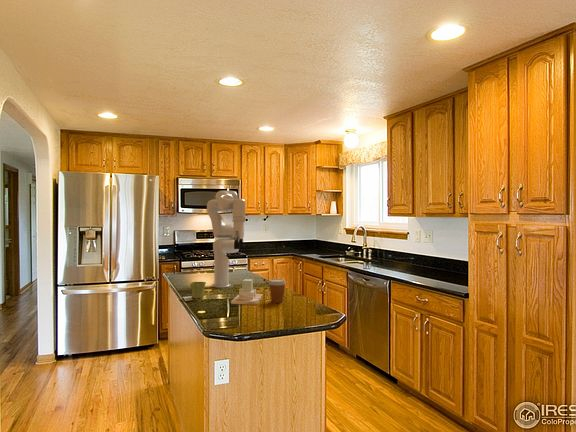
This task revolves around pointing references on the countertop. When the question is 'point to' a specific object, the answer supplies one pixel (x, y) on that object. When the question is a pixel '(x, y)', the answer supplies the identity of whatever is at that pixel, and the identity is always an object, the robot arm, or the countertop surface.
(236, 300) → the stack base
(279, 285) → the disposable coffee cup
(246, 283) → the sage block
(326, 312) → the countertop surface
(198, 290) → the plant pot
